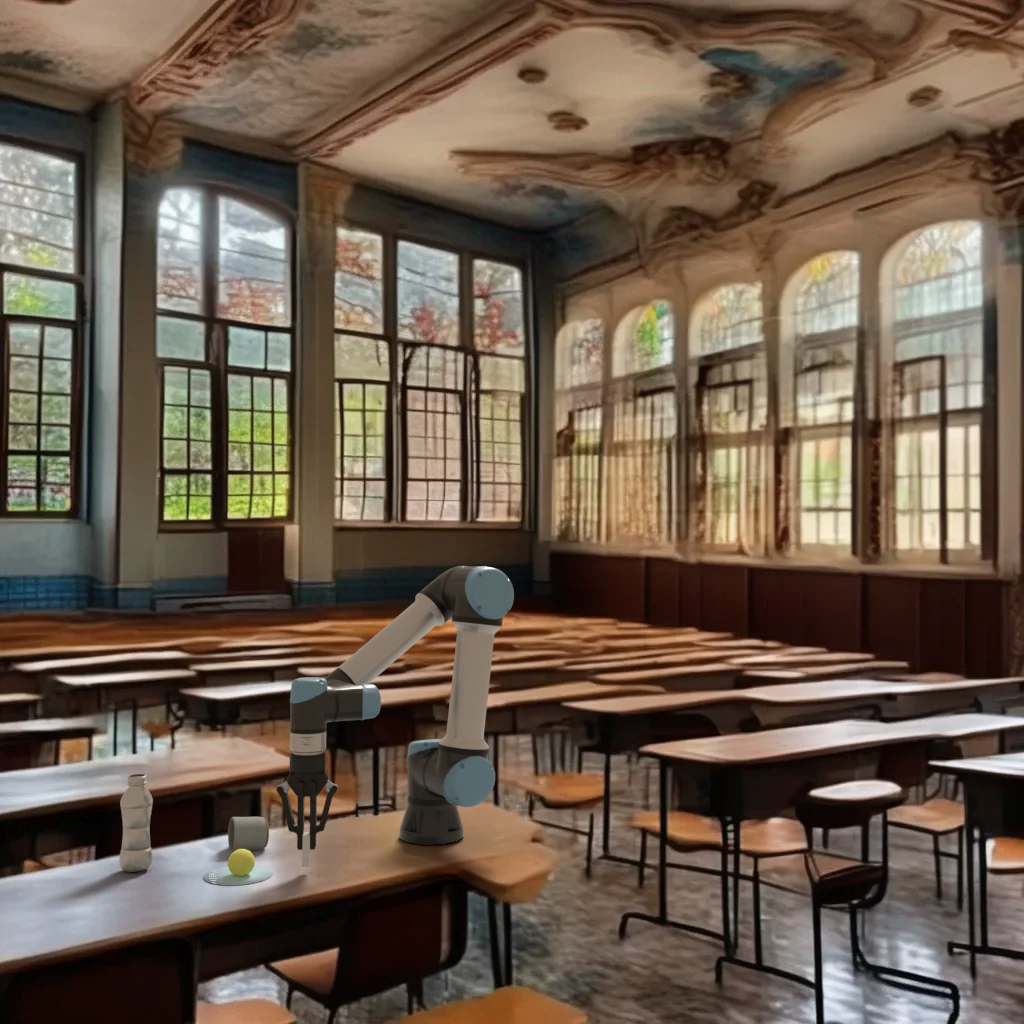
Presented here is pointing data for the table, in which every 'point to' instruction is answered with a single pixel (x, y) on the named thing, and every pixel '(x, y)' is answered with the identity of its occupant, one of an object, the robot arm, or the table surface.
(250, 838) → the ceramic mug
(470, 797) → the robot arm
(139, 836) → the plastic bottle
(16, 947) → the table surface
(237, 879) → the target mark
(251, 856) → the ball
